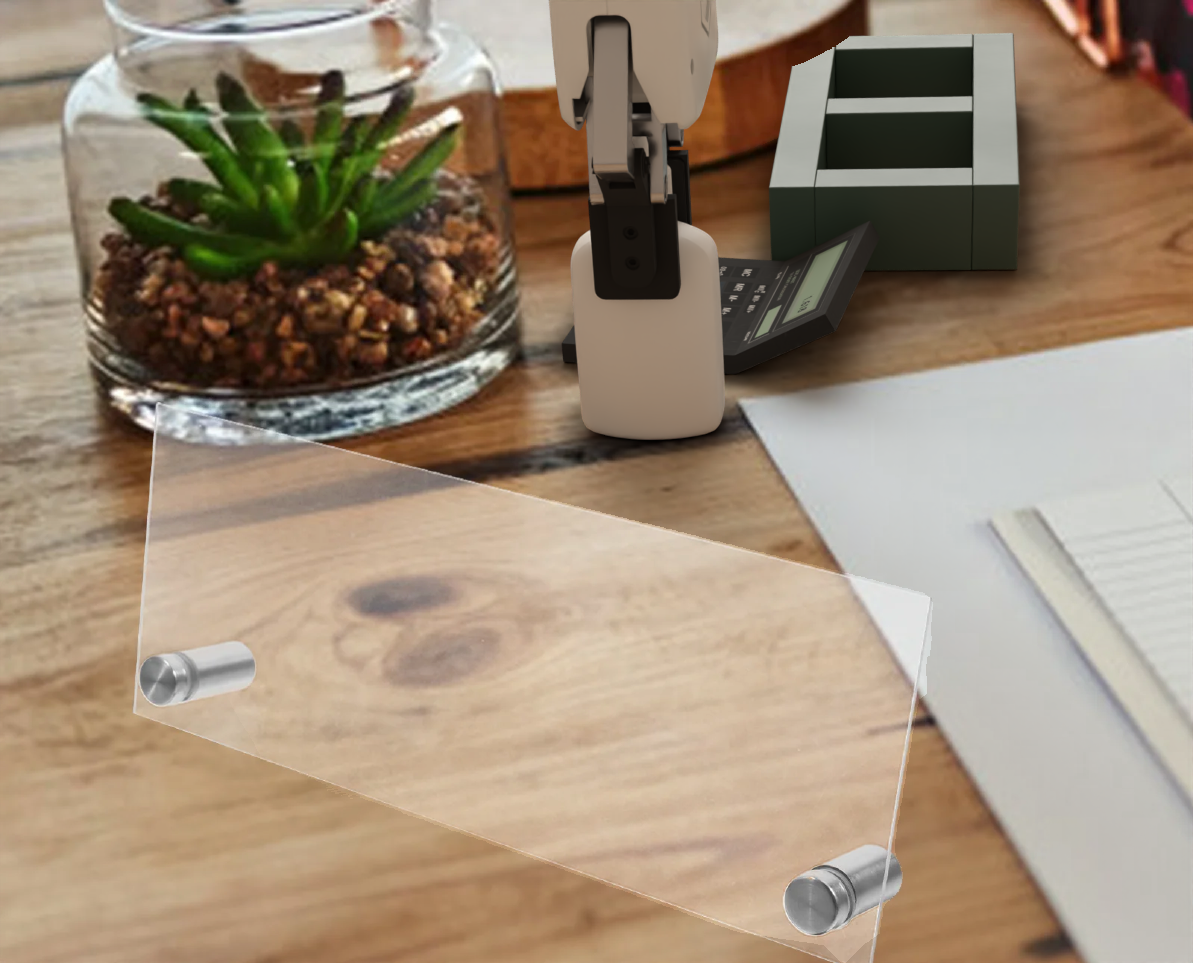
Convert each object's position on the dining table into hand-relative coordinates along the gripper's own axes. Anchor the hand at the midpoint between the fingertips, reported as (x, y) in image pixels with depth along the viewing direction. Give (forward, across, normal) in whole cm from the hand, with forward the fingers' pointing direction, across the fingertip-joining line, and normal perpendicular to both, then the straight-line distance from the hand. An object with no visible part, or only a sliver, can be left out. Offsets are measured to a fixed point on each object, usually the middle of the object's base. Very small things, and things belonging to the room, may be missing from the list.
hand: (644, 268), depth 89 cm
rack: (+7, +24, -9) cm, 26 cm away
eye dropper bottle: (+7, 0, 0) cm, 7 cm away
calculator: (+7, +9, -2) cm, 11 cm away
